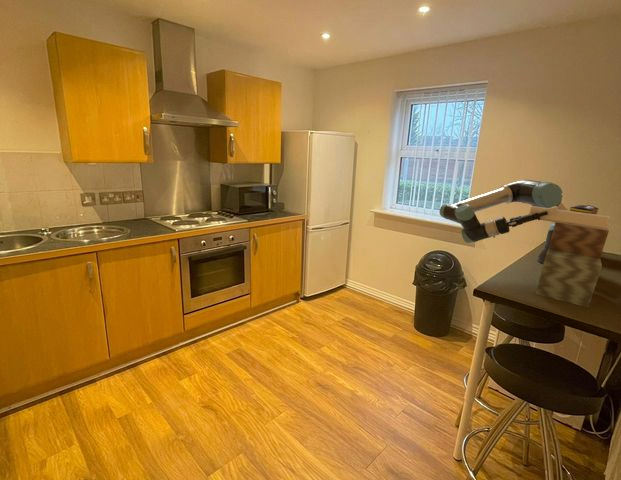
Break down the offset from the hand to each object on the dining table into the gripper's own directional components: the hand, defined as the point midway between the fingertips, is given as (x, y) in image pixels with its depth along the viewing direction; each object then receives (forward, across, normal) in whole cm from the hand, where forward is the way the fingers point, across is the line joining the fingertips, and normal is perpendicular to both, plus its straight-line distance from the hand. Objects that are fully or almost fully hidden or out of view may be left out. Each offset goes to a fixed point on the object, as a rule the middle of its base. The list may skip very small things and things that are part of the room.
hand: (557, 209), depth 139 cm
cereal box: (-8, -96, -37) cm, 103 cm away
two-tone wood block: (-10, -7, -36) cm, 38 cm away
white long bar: (+1, 0, -6) cm, 6 cm away
